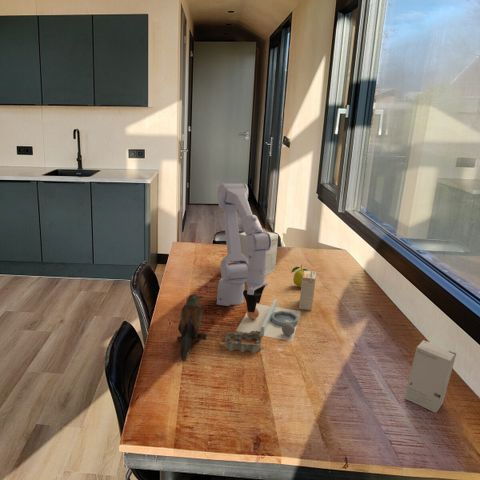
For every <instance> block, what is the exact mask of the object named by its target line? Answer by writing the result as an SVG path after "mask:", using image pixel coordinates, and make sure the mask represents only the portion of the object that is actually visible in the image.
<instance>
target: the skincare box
mask: <svg viewBox="0 0 480 480" xmlns="http://www.w3.org/2000/svg"><path fill="white" fill-rule="evenodd" d="M456 358H457V353H456V352H455V351H452V350H450V349H447V348H445V347H443V346H441V345H438V344H435V343H432V342H430V341H426V340H422V341H421V342H420V343H419V344H418V345H417V346H416V348H415V353H414V357H413V359H412V364H411V369H410V373H409V376H408V380H407V381H408V382H407V384H406V389H405V393H404V397H403V398H404V400H407V401H410V402H411V403H414V404H415V405H417V406H419V407H420V406H421V407H422V408H425V409H427V410H429V411H431V412H432V413H435V414H437V412H438V411H439V410H440V408H441V407H442V405H443V403H444V400H445V398H446V394H447V393H446V392H447V390H448V385H449V382H450V378H451V375H452V372H453V368H454V364H455V361H456Z"/></svg>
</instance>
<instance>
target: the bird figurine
mask: <svg viewBox="0 0 480 480" xmlns="http://www.w3.org/2000/svg"><path fill="white" fill-rule="evenodd" d="M203 298H205V297H204V296H203V295H199V294H195V293H194V294H192V293H191V294H190V295H188V298H187V299H186V302H185V304H184V305H183V307H182V309H181V312H180V316H179V318H180V319H179V323H178V328H177V329H178V332H179V333H180V336H176V337H177V338H176V341H177V342H181V345H180V349H179V354H180V360H181V361H183V362H185V361H186V360H187V359H188V357H189V352H190V351H191V347H192V345H193V344H194V343H195V341H201V340H203V341H208V340H209V337H210V335H209V334H208V333H199V332H200V327H201V324H202V319H203V307H202V305H200V304H199V302H200V300H201V299H203Z"/></svg>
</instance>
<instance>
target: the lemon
mask: <svg viewBox="0 0 480 480" xmlns="http://www.w3.org/2000/svg"><path fill="white" fill-rule="evenodd" d="M298 269H299V270H298ZM304 271H309V270H308V269H306V268H303V264H301V265H300V266H295V267H293V268H292V270H291V272H290V273H294V272H295V273H294V275H293V279H292V280H293V281H292V282H293V284H294V285H295V286H297V287H298V288H301V285H302V277H303V272H304Z"/></svg>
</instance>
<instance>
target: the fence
mask: <svg viewBox="0 0 480 480" xmlns="http://www.w3.org/2000/svg"><path fill="white" fill-rule="evenodd" d="M277 305H278V299H276V298H274V299H273V301H272V303H271V305H270V306H271V308H270V310H269V312H268V314H267V316H266V318H265V320H264V322H263V324H262V326H261V336H260V337H265V336H264V334H265V332H266V330H267V328H268V325H269V323H270V321H271V316H272V314H273V312H275V310H276V307H278V306H277Z"/></svg>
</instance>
